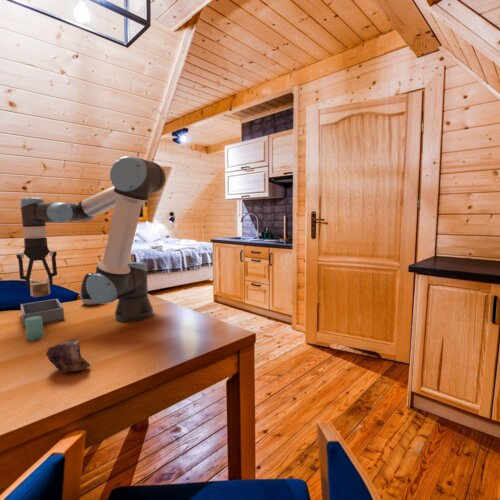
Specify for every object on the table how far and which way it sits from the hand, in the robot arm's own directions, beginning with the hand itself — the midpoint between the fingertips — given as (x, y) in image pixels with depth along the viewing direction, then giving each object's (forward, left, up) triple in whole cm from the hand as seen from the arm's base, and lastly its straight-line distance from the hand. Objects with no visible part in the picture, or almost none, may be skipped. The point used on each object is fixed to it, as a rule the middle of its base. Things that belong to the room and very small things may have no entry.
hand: (40, 294), depth 127 cm
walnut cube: (0, 0, 0) cm, 0 cm away
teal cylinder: (-6, +19, -11) cm, 22 cm away
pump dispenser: (-12, -21, -11) cm, 27 cm away
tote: (+2, -3, -11) cm, 12 cm away
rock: (-28, +45, -11) cm, 54 cm away
